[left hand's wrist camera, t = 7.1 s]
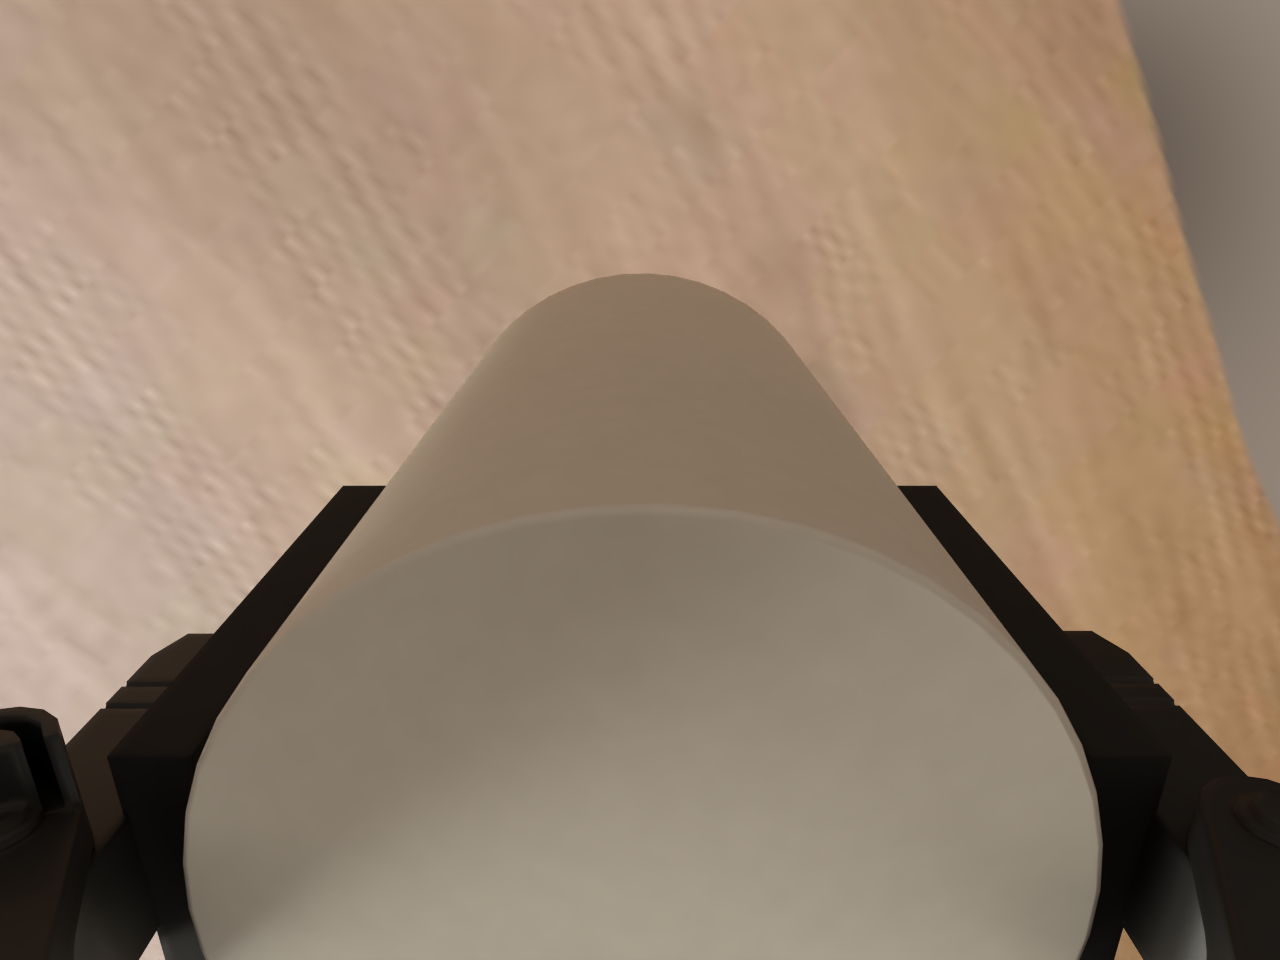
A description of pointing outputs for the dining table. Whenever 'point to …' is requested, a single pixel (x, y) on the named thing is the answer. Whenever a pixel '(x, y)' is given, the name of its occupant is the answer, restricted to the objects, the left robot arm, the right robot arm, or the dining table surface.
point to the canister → (642, 688)
